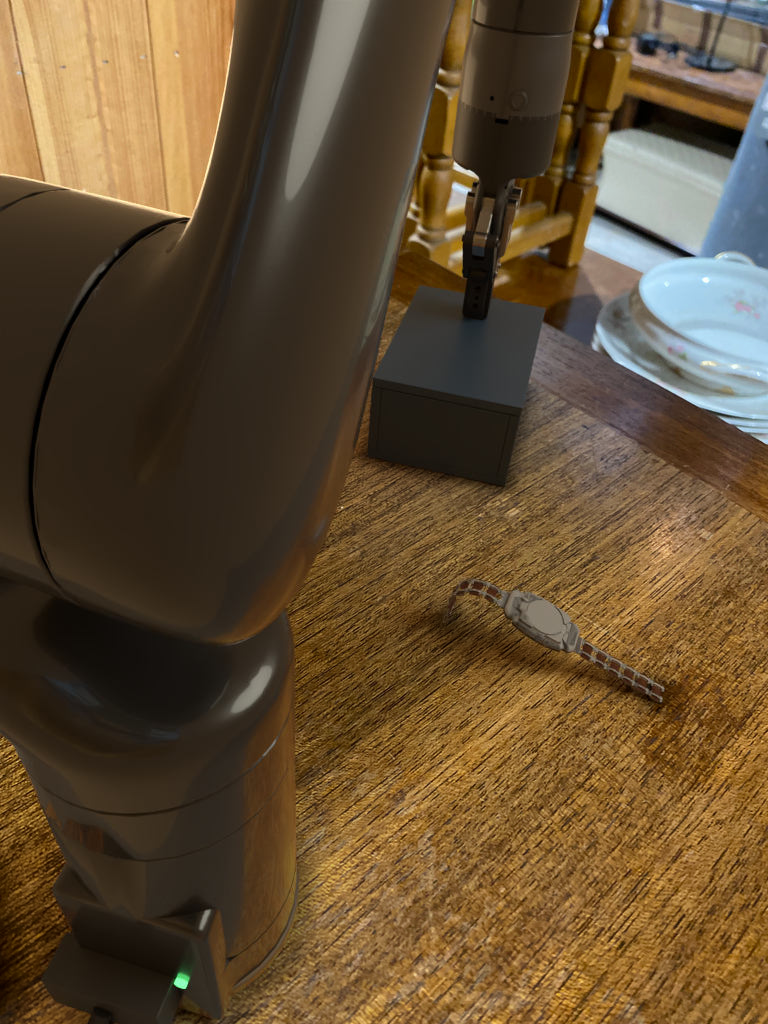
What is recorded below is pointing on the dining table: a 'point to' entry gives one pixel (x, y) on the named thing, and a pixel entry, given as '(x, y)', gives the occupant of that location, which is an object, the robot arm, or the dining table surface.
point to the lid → (462, 352)
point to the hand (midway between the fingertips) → (475, 314)
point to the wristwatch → (552, 630)
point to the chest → (441, 435)
